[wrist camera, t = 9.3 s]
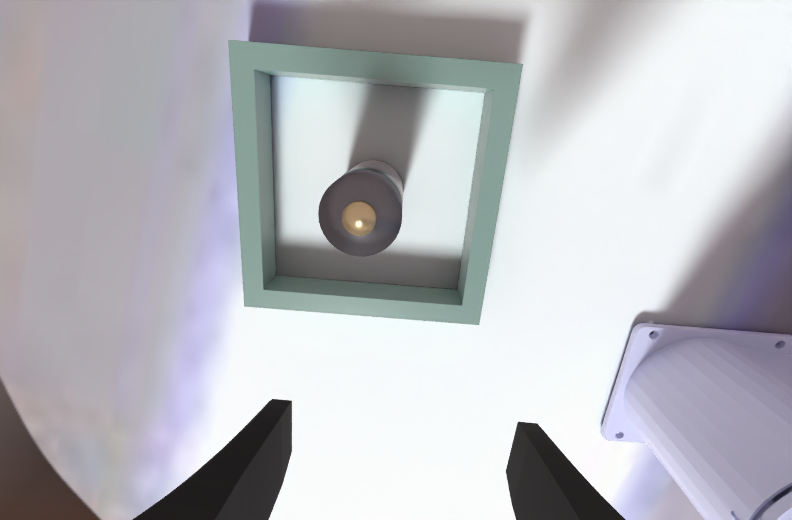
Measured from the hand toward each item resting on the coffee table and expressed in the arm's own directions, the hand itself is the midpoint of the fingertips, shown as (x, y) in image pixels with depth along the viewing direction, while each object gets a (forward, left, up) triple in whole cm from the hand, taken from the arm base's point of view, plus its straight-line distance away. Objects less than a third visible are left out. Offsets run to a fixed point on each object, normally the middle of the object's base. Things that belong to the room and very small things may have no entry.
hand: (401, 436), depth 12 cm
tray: (+2, -6, -10) cm, 12 cm away
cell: (+2, -6, -10) cm, 12 cm away
